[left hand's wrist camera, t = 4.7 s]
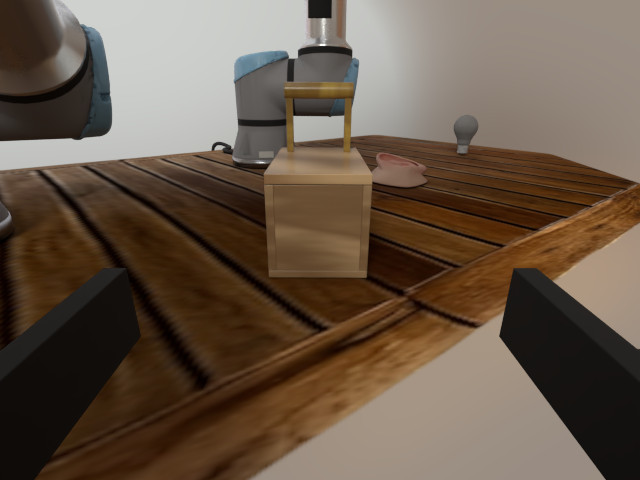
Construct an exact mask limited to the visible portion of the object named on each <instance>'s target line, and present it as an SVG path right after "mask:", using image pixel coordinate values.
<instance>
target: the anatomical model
mask: <svg viewBox="0 0 640 480" xmlns="http://www.w3.org/2000/svg"><path fill="white" fill-rule="evenodd" d="M376 160H377V163H378V167H377V168H375V169H374V170H373V171H372V172H371V173H372V174H373V179H372V182H375V183H379V184H384V185H389V186H396V187H415V186H418V185H422V184H424V183H426V182H427V180H426V179H425V178H424V177H423V175H422V174H423V173H424V172H426V170H427V168H426V167H425V166H423V165H421V164H419V163H416V162H414V161H411V160H409V159H405V158H402V157H399V156H395V155H392V154H388V153H379V154H377V157H376Z"/></svg>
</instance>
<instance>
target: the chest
mask: <svg viewBox="0 0 640 480" xmlns="http://www.w3.org/2000/svg"><path fill="white" fill-rule="evenodd" d="M264 192H265V211H266V230H267V249H268V268H269V277H306V278H366V277H367V264H368V247H369V230H370V213H371V196H372V185H314V184H265V185H264Z"/></svg>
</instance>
